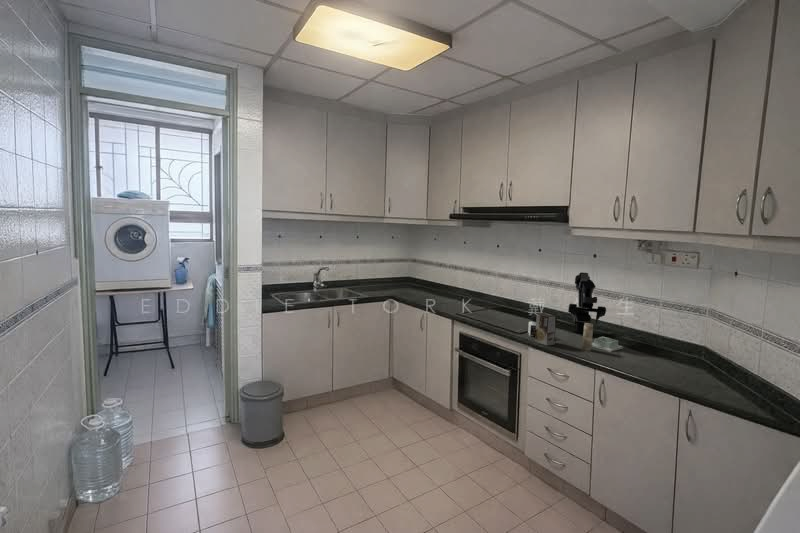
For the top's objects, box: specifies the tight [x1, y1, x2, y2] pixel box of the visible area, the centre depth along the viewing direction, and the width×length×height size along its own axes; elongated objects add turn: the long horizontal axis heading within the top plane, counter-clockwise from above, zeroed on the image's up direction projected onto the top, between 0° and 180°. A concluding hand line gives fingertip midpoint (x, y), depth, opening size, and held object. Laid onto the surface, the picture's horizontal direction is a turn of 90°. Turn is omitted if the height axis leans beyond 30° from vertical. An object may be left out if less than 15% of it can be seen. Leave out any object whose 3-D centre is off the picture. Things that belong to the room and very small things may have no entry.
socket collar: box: [591, 336, 624, 353], centre depth 218 cm, size 12×12×4 cm
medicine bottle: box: [527, 314, 537, 337], centre depth 235 cm, size 7×7×12 cm
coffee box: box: [534, 312, 558, 346], centre depth 221 cm, size 9×6×16 cm
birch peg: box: [581, 322, 594, 352], centre depth 212 cm, size 4×4×14 cm
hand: (587, 322), depth 218 cm, fingers open, 9 cm apart
